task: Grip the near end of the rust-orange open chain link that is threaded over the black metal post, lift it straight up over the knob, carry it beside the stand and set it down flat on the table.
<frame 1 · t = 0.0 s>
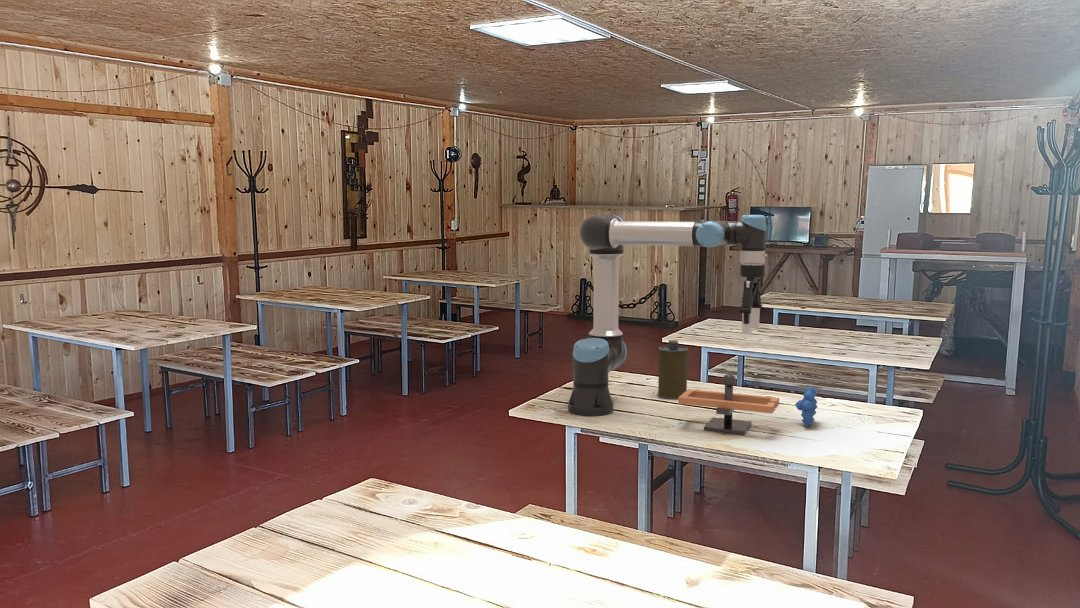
hand: (750, 331, 251), 28 cm above the table, tool pointing down, fingers open, 13 cm apart
canister: (672, 396, 283), on the table
grapes: (805, 425, 245), on the table
link: (728, 403, 241), point 7 cm above the table, touching stand
stand: (727, 427, 242), on the table
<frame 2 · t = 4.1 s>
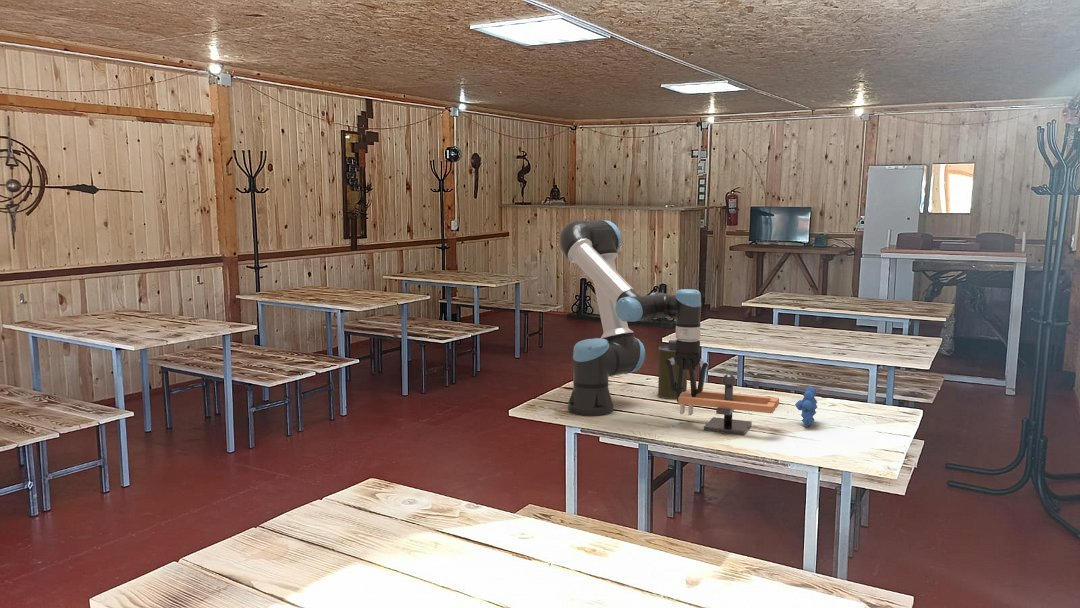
hand: (686, 413, 247), 3 cm above the table, tool pointing down, fingers closed on link, 2 cm apart
link: (728, 403, 241), point 7 cm above the table, touching gripper, stand
everything else where it was.
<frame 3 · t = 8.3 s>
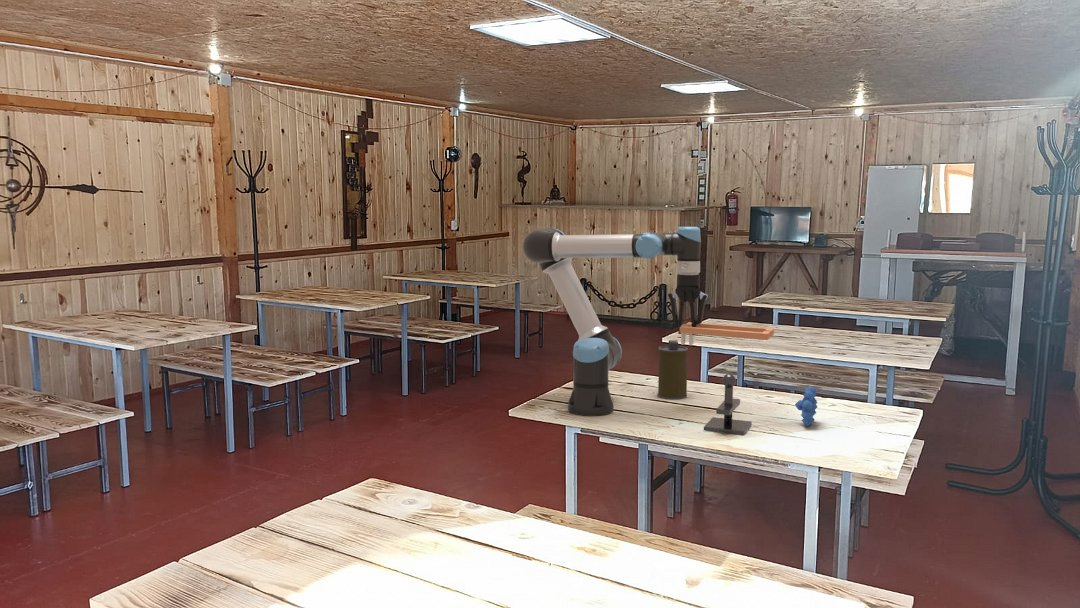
hand: (687, 344, 263), 22 cm above the table, tool pointing down, fingers closed on link, 2 cm apart
link: (726, 333, 257), point 26 cm above the table, touching gripper
everything else where it was.
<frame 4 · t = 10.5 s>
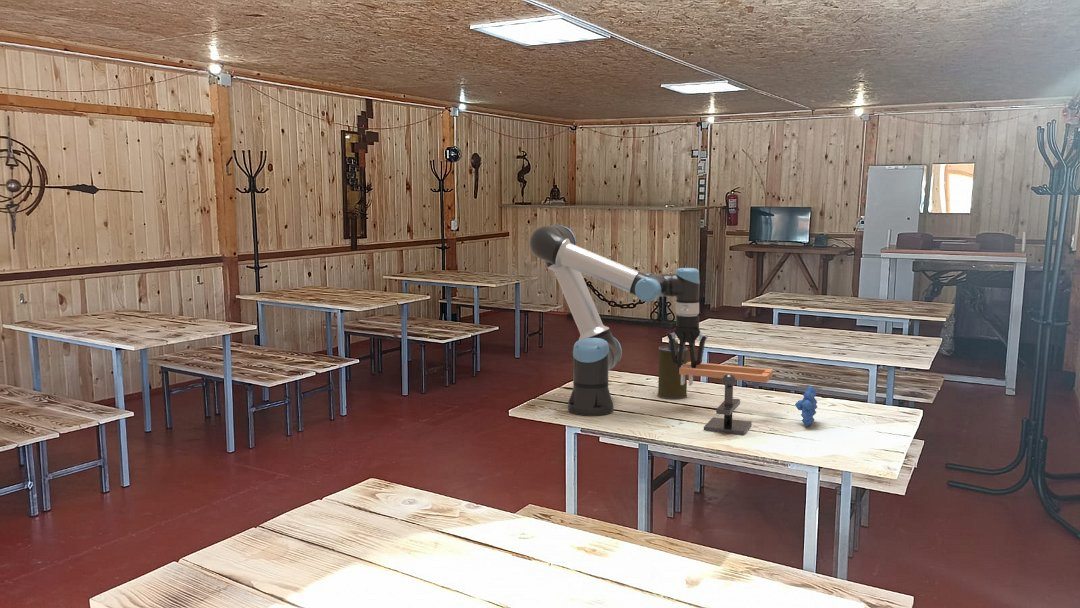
hand: (686, 384, 265), 8 cm above the table, tool pointing down, fingers closed on link, 2 cm apart
link: (725, 374, 259), point 13 cm above the table, touching gripper
everything else where it was.
when the fingers open (1 cm above the table, at t = 12.5 s): link drops 6 cm, on the table.
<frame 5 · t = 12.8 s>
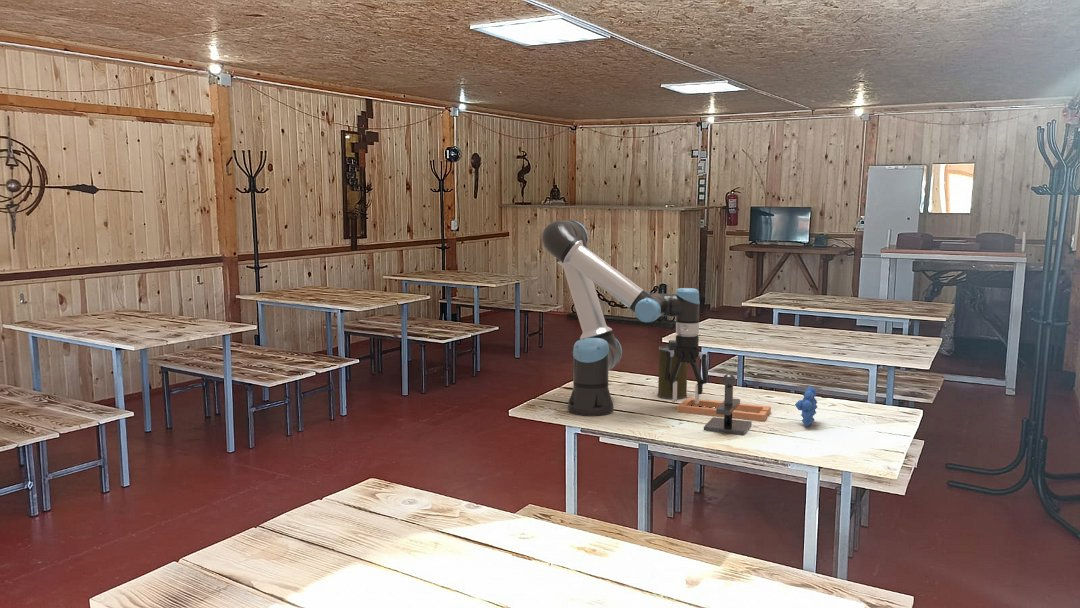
hand: (685, 402, 265), 2 cm above the table, tool pointing down, fingers open, 7 cm apart
link: (723, 412, 260), on the table
everything else where it was.
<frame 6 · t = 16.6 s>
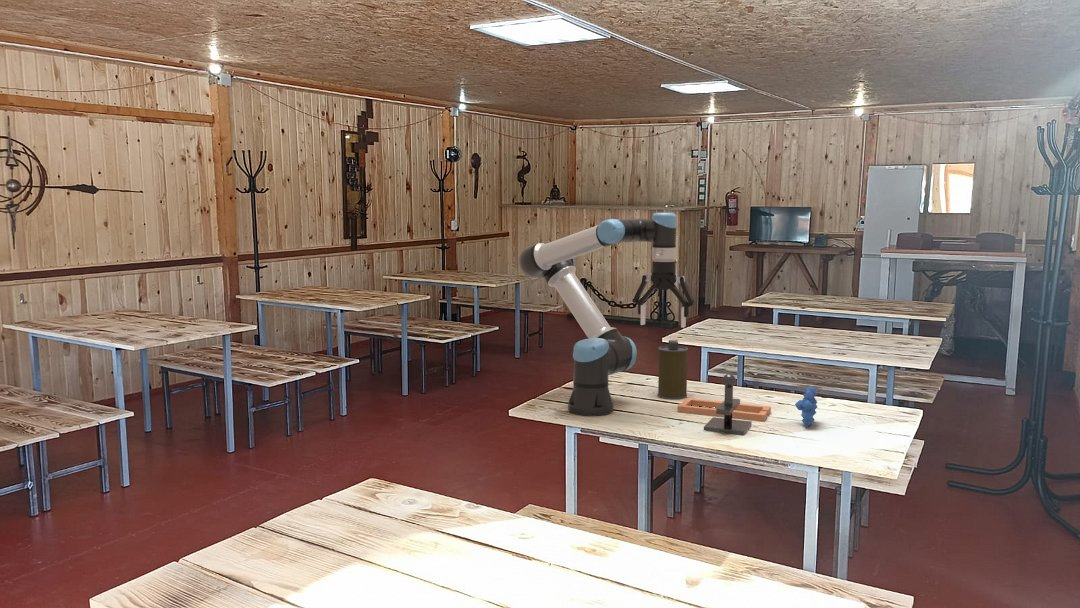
hand: (662, 325, 258), 29 cm above the table, tool pointing down, fingers open, 13 cm apart
nothing on the table moved.
at the end: link inside the target area (0.2 cm from its centre), on the table; link touching table; link tilted 0° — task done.
